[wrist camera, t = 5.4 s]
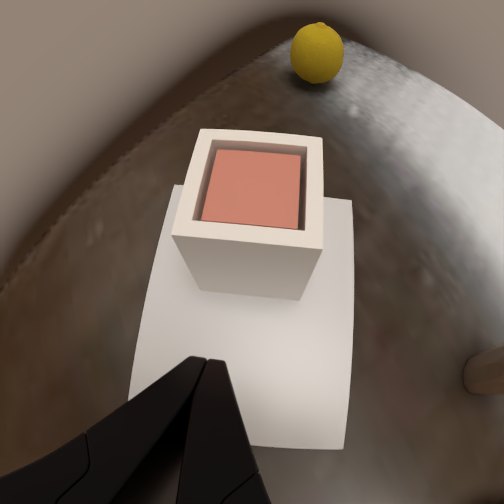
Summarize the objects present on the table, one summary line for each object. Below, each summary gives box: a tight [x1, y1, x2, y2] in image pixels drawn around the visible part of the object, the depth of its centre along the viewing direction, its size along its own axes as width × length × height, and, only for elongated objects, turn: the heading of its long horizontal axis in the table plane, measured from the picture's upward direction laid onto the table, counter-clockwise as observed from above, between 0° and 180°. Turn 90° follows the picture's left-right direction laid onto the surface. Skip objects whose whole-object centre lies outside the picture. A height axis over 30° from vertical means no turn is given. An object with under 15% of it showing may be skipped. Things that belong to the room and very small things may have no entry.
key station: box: [128, 129, 354, 449], centre depth 17 cm, size 18×14×9 cm
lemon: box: [290, 22, 344, 84], centre depth 28 cm, size 6×6×8 cm
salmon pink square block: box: [201, 149, 301, 230], centre depth 17 cm, size 4×4×3 cm
